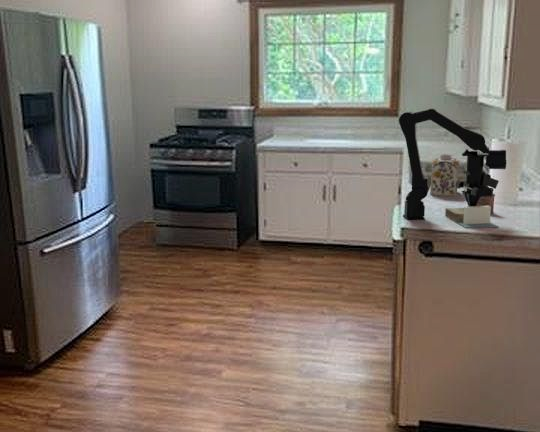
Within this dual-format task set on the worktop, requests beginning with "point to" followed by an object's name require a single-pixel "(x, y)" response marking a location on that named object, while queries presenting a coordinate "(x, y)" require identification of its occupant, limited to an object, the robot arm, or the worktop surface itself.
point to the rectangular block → (476, 214)
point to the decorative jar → (444, 176)
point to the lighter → (487, 201)
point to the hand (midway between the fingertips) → (472, 211)
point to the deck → (455, 214)
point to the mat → (476, 225)
